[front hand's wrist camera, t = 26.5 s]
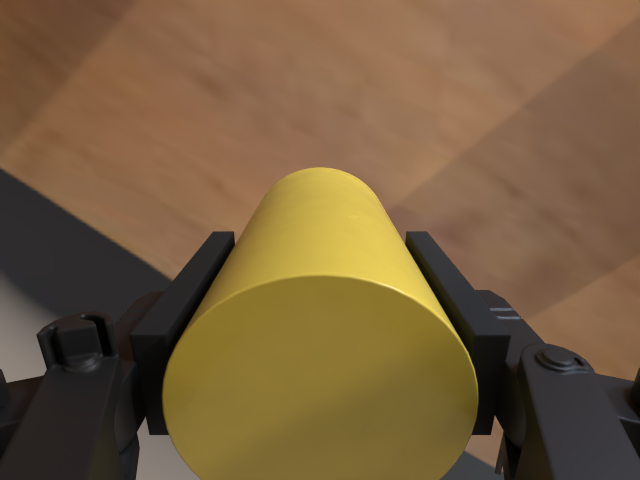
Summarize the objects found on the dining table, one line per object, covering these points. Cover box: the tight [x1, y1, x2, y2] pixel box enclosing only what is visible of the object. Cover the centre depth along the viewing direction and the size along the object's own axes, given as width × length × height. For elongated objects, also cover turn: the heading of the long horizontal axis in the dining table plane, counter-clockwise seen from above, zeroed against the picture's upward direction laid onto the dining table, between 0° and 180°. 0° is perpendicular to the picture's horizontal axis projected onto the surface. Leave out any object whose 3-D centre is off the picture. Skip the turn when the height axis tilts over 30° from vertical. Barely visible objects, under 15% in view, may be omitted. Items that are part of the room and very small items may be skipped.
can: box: [162, 168, 478, 480], centre depth 13 cm, size 6×6×11 cm
